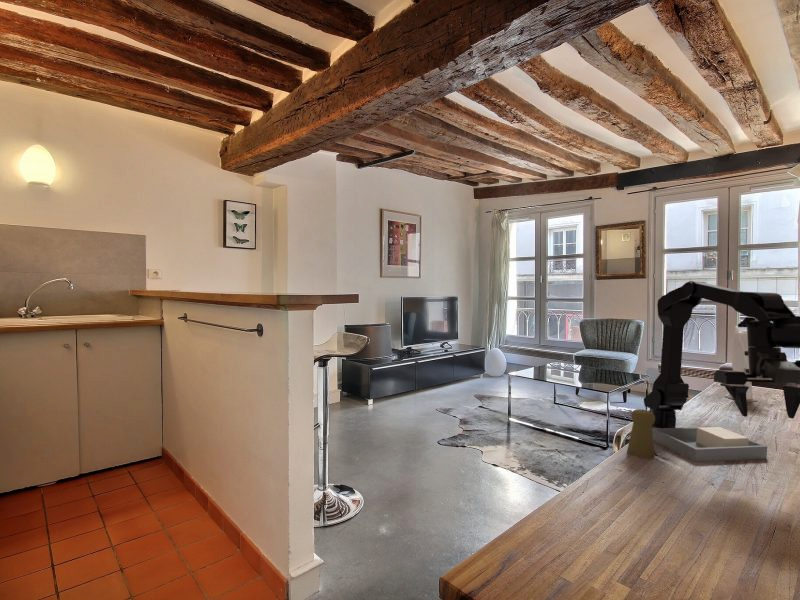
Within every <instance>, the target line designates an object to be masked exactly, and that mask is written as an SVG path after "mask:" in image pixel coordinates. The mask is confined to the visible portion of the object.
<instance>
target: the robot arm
mask: <svg viewBox="0 0 800 600" xmlns="http://www.w3.org/2000/svg"><path fill="white" fill-rule="evenodd" d="M702 300H706V301H711V302H714V303H718V304H720V305H721V304H722V305H725V306H729V307H731V308H732V309H733V310H734V311H735V312H737V313H739V314H742V315H743V316H745V317H744V319H743V320H742V321H740V322H739V323H738V324H737V326H738V328H746V330H747V339H748V351H745V355H746V356H748V359H749V369H745V370H746V373H748V374H745V372H740V371H733V369H732V370H725V369H717V370H715V372H714V373H713V382H715V383H718V384H720V386H721V387H724V388H725V389H726V391H727V392H728V394H729V393H730V395H731V396H732V398H733V399H734V400H733V399H732V400H733V402H734V403H735V405H736V406H737V408H738V410H739V412H740V414H741V415H742V417H748V402H747V398H746V392H747V390H748V388H749V387H747V386H744V384H745V383H746V382H751V383H776V384H782V391H783V396H784V398H783V399H784V405H785V410H786V414H787V417H788V419H793V420H794V419H795V417H796V414H797V411H798V409H799V407H800V359H799V360H795V361H788V359H787V358H788V357H787V354H786V352H783V351H782V348H783V349H800V315H799V316H796V314H794V312H793V311H792V310H791V308H789V306H787V305H786V303H785V302H784V299H783V298H782V295H781V294H780V293H776V292H758V291H755V292H753V291H741V290H738V289H733V288H729V287H724V286H720V285H716V284H712V283H708V282H705V281H698V280H697V281H694V280H691V281H688V282H685V283H684V284H683V285H681V286H679V287H677V288H675V289H673V290H671V291H668V292H667V293H666V294H663V295H662V296H661V297H660V298H659V299H658V300H657V305H656V306H657V317H658V318H659V320H660V321H661V323H662V326H663V328H662V329H663V330H662V342H661V358H660V372H659V375H658V376H657V377H656V378H655V380H654V382H653V385H652V391H651V392H649V394H648V395H646V396H645V397H644V398H643V404H644V405H643V406H644V407H646V408H649V411H650V412H652V413H653V414H654V416H655V422H654V424H653V425H652V427H655V428H677V427H676V424H677V417H676V414H677V411H682V409H683V407H684V405H685V404H686V403H687V399H688V398H690V397H689V388H690V385H689V383H686V382H684V380H683V378H682V377H681V376H682V363H683V362H682V360H683V359H682V358H683V347H684V346H683V344H684V343H683V342H684V329H685V326H686V324H687V323H688V322H689V321H690V319H691V318H692V315H693V314H692V312H693V309H695V308H696V307H697V306H699V305H700V304H701V302H702ZM785 384H786V385H785Z"/></svg>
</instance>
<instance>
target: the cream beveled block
mask: <svg viewBox="0 0 800 600" xmlns="http://www.w3.org/2000/svg"><path fill="white" fill-rule="evenodd" d="M702 427H703V428H697V437H696V443H698V444H701V445H703V446H705V447H707V448H709V447H732V446H748V441H749V440H750V438H749V437H747V436H744V435H742V434H739V433H736V432H734V431H731V430H729V429H726V428H723V427H720V426H702Z"/></svg>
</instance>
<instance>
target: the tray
mask: <svg viewBox="0 0 800 600" xmlns="http://www.w3.org/2000/svg"><path fill="white" fill-rule="evenodd" d="M703 427H704V426H694V427H693V426H691V427H690V426H689V427H686V426H685V427H675V428H658V427H655V428H654V427H653V428H652V431H653V442H655V443H657V444H659V445H661V446H663V447H664V448H666V449H669V450H670V451H673V452H675V453H677V454H679V455H681V456H682V457H685V458H686V459H689V460H690V461H693V462H694V463H704V462H706V463H707V462H709V463H710V462H726V461H727V462H729V461H745V460H746V461H747V460H766V459H767V456H768V455H767V454H768V445H764V444H762V443H760V442H757V441H754V440H752V439H749V441H748V446H732V447H709V448H707V447H705V446H703V445H701V444H698V443H696V437H697V428H703Z"/></svg>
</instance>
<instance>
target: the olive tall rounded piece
mask: <svg viewBox="0 0 800 600" xmlns="http://www.w3.org/2000/svg"><path fill="white" fill-rule="evenodd" d="M630 418H631V420H632V427H631V432H630V436H629V437H630V438H629V441H628V446H627V453H628V454H629V455H631V456H633V457H637V458H641V459H645V460H649V459H650V460H651V459H654V458H655V455H656V454H655V445H654V444H655V443H654V441H653V431H652V429H653V426H652V425H653V424H654V422H655V416H654V414H653V413H652V412H650V410H647V409H644V408H643V409H641V408H640V409H639V408H638V409H634V410H633V411H632V412H631V415H630Z"/></svg>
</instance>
